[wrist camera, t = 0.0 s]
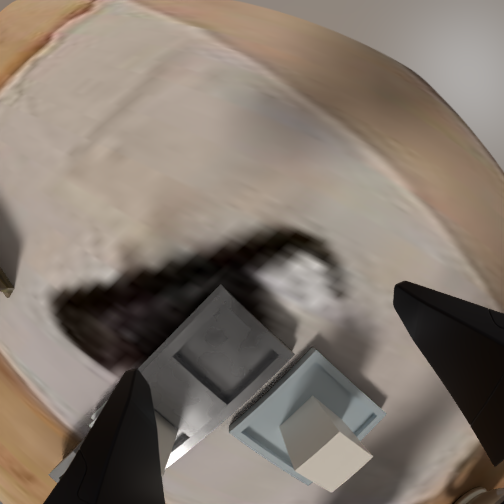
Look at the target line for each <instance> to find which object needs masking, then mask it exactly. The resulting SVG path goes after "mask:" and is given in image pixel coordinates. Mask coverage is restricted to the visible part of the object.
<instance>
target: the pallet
mask: <svg viewBox="0 0 504 504" xmlns="http://www.w3.org/2000/svg"><path fill="white" fill-rule="evenodd" d="M294 355H295V354H294V353H293V352H292V351H291V350H290V349H289V348H288V347H287V346H286V345H285V344H284V343H283V342H282V341H281V340H279V339H278V338H277V337H276V336H275V335H274V334H273V333H272V332H271V331H270V330H269V329H268V328H267V327H265V326H264V325H263V324H262V323H261V322H260V321H259V320H258V319H257V318H256V317H255V316H254V315H253V314H252V313H251V312H250V311H249V310H247V309H246V308H245V307H244V306H243V305H242V304H241V303H240V302H239V301H238V300H237V299H236V298H235V297H234V296H233V295H232V294H231V293H230V292H229V291H228V290H227V289H226V288H225V287H224V286H223V285H222V284H220V285H219V286H218V287H217V288H216V289H215V290H214V291H213V293H212V294H211V295H210V296H209V297H208V298H207V299H206V300H205V301H204V302H203V303H202V304H201V305H200V306H199V307H198V308H197V309H196V310H195V311H194V312H193V313H192V314H191V315H190V316H189V317H188V318H187V319H186V320H185V321H184V322H183V323H182V324H181V325H180V326H179V327H178V328H177V329H176V330H175V331H174V332H173V333H172V334H171V335H170V337H169V338H168V339H167V340H166V341H165V342H164V343H163V344H162V345H161V346H160V347H159V348H158V349H157V350H156V351H155V352H154V353H153V354H152V355H151V356H150V357H149V358H148V359H147V360H146V361H145V362H144V363H143V364H142V365H141V366H140V367H139V368H138V370H139V371H140V372H141V374H142V375H143V376H144V378H145V379H146V381H147V382H148V383H149V386H150V389H151V395H152V401H153V407H154V410H155V411H156V412H157V413H158V414H159V415H161V416H162V417H163V418H164V419H165V420H166V421H168V422H169V423H170V424H171V425H172V426H174V427H175V428H176V429H177V430H178V433H177V436H176V439H175V442H174V445H173V448H172V451H171V454H170V457H169V460H168V463H167V466H166V468H167V467H168V466H170V465H171V464H172V463H174V462H175V461H176V460H177V459H179V458H180V457H181V456H183V455H184V454H185V453H186V452H188V451H189V450H190V449H191V448H193V447H194V446H195V445H196V444H198V443H199V442H200V441H201V440H202V439H204V438H205V437H206V436H207V435H208V434H210V433H211V432H212V431H213V430H214V429H215V428H217V427H218V426H219V425H220V424H221V423H222V422H224V421H225V420H226V419H227V418H228V417H229V416H230V415H232V414H233V413H234V412H235V411H236V410H237V409H238V408H239V407H241V406H242V405H243V404H244V403H245V402H246V401H247V400H248V399H249V398H250V397H251V396H253V395H254V394H255V393H256V392H257V391H258V390H259V389H260V388H261V387H262V386H263V385H264V384H265V383H266V382H267V381H268V380H269V379H270V378H271V377H272V376H273V375H275V374H276V373H277V372H278V371H279V370H280V369H281V368H282V367H283V366H284V365H285V364H286V363H287V362H288V361H289V360H290V359H291V358H292V357H293V356H294ZM107 401H108V400H107ZM107 401H106V402H107ZM106 402H105V403H104V404H103V405H102V406H101V407H100V408H99V409H98V410H97V411H96V412H95V413H94V414H93V415H92V416H91V418H92V419H93V420H94V421H93V422H92V423H91V424H90V425H89V426H90V427H92V426H93V424H94V422H95V421H96V419H97V417H98V416H99V414H100V412H101V411H102V409H103V407H104V406H105V404H106Z"/></svg>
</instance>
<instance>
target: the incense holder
mask: <svg viewBox="0 0 504 504" xmlns="http://www.w3.org/2000/svg"><path fill="white" fill-rule="evenodd" d="M13 290H14V287H13V286H12V284H11V283H10V281H9V280H8V278H7V277H6V275H5V274H4V272H3V271H2V269H1V268H0V291H1V292H3V293H4V294H5V296H6V297H7V298H9V297H10V295H11V293H12V292H13Z"/></svg>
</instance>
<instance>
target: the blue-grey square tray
mask: <svg viewBox="0 0 504 504" xmlns="http://www.w3.org/2000/svg"><path fill="white" fill-rule="evenodd" d="M312 395H313V396H314V397H315V398H317V399H318V400H319V401H320V402H321V403H323V404H324V405H325V406H326V407H327V408H329V409H330V410H331V411H332V412H334V413H335V414H336V415H337V416H338V417H340V418H341V419H342V420H343V421H344V422H345V424H346V425H347V426H348V427H349V428H350V430H351V431H352V432H353V433H354V434H355V436H356V437H357V438H358V439H359V440H360V441H361V440H362V439H363V438H364V437H365V436H366V435H367V434H368V433H369V432H370V431H371V430H372V429H373V428H374V427H375V426H376V425H377V424H378V423H379V422H380V421H381V419H382V418H383V417H384V416H385V415H386V413H385V412H384V411H383V410H382V409H381V408H380V407H378V406H377V405H376V404H375V403H374V402H373V401H372V400H371V399H370V398H368V397H367V396H366V395H365V394H364V393H363V392H362V391H361V390H360V389H358V388H357V387H356V386H355V385H354V384H353V383H352V382H351V381H350V380H348V379H347V378H346V377H345V376H344V375H343V374H342V373H341V372H340V371H339V370H338V369H336V368H335V367H334V366H333V365H332V364H331V363H330V362H329V361H328V360H327V359H326V358H325V357H323V356H322V355H321V354H320V353H319V352H318V351H317V350H316V349H315V348H313V347H312V348H311V349H310V350H309V351H308V352H307V353H306V354H305V355H304V356H303V357H302V358H301V359H300V360H299V361H298V362H297V363H296V364H295V365H294V366H293V367H292V368H291V369H290V370H289V371H288V372H287V373H286V374H285V375H284V376H283V377H282V378H281V379H280V380H279V381H278V382H277V383H276V384H275V385H274V386H273V387H272V388H271V389H270V390H269V391H268V392H267V393H265V394H264V395H263V396H262V397H261V398H260V399H259V400H258V401H257V402H256V403H255V404H254V405H253V406H251V407H250V408H249V409H248V410H247V411H246V412H245V413H244V414H243V415H241V416H240V417H239V418H238V419H237V420H236V421H235V422H233V423H232V424H231V425H230V426H229V433H230V434H231V435H233V436H234V437H235V438H237V439H238V440H240V441H241V442H242V443H244V444H245V445H246V446H248V447H249V448H251V449H252V450H253V451H255V452H256V453H258V454H259V455H261V456H262V457H264V458H265V459H267V460H268V461H270V462H271V463H273V464H274V465H276V466H277V467H279V468H280V469H282V470H283V471H285V472H287V473H288V474H290V475H291V476H293V477H295V478H296V479H298V480H300V481H301V482H303V483H305V484H306V485H308V486H309V485H310V484H311V483H313V482H312V481H310V480H309V479H307V478H305V477H304V476H302V475H300V474H299V473H297V472H296V471H294V468H293V465H292V462H291V459H290V457H289V454H288V451H287V448H286V445H285V442H284V440H283V437H282V434H281V431H280V428H279V426H280V425H282V424H283V423H284V422H285V421H286V420H287V419H288V418H289V417H290V416H291V415H293V414H294V413H295V412H296V411H297V410H298V409H299V408H300V407H301V406H302V405H303V404H304V403H305V402H306V401H307V400H308V399H309V398H310V397H311V396H312Z"/></svg>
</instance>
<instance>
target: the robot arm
mask: <svg viewBox="0 0 504 504" xmlns="http://www.w3.org/2000/svg"><path fill="white" fill-rule="evenodd" d="M393 305H394V308H395V310H396V312H397V313H398V315H399V317H400V318H401V320H402V322H403V324H404V325H405V327H406V329H407V331H408V332H409V334H410V336H411V337H412V339H413V341H414V342H415V344H416V345H417V347H418V348H419V349H420V351H421V352H422V354H423V355H424V356H425V358H426V359H427V361H428V362H429V363H430V365H431V366H432V368H433V369H434V371H435V372H436V374H437V375H438V377H439V378H440V379H441V381H442V382H443V384H444V385H445V387H446V388H447V390H448V391H449V393H450V394H451V396H452V397H453V399H454V401H455V402H456V404H457V405H458V407H459V408H460V410H461V411H462V413H463V415H464V416H465V418H466V419H467V421H468V423H469V424H470V426H471V428H472V429H473V431H474V433H475V434H476V436H477V438H478V439H479V441H480V443H481V444H482V446H483V448H484V450H485V451H486V453H487V455H488V457H489V458H490V460H491V462H492V464H493V465H494V466H497V465H498V464H499V463H500V462H501V461H503V460H504V314H503V313H500V312H497V311H494V310H491V309H488V308H485V307H483V306H480V305H477V304H474V303H471V302H468V301H465V300H462V299H459V298H456V297H453V296H450V295H447V294H444V293H441V292H438V291H435V290H432V289H429V288H426V287H423V286H420V285H417V284H414V283H411V282H408V281H402V282H400V283H398V284H396V285H395V287H394V299H393ZM43 504H165V499H164V492H163V484H162V475H161V466H160V455H159V444H158V432H157V424H156V418H155V413H154V407H153V401H152V395H151V389H150V386H149V383H148V382H147V381H146V379H145V378H144V376H143V375H142V374H141V372H140V371H139V370H138V369H132V370H128V371H126V372H125V373H124V375H123V376H122V378H121V379H120V381H119V383H118V384H117V386H116V388H115V389H114V391H113V392H112V394H111V396H110V397H109V399H108V401H107V402H106V404H105V406H104V407H103V409H102V411H101V412H100V414H99V416H98V417H97V419H96V421H95V422H94V424H93V426H92V427H91V429H90V431H89V433H88V434H87V436H86V438H85V439H84V441H83V443H82V445H81V446H80V449H79V450H78V451H77V453H76V455H75V457H74V458H73V460H72V462H71V463H70V465H69V467H68V468H67V470H66V471H65V473H64V474H63V476H62V477H61V479H60V480H59V482H58V483H57V485H56V486H55V488H54V489H53V490H52V492H51V493H50V495H49V496H48V498H47V499H46V501H45V502H44V503H43ZM494 504H504V495H503V496H502V497H501V498H500V499H499V500H498V501H497V502H495V503H494Z"/></svg>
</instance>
